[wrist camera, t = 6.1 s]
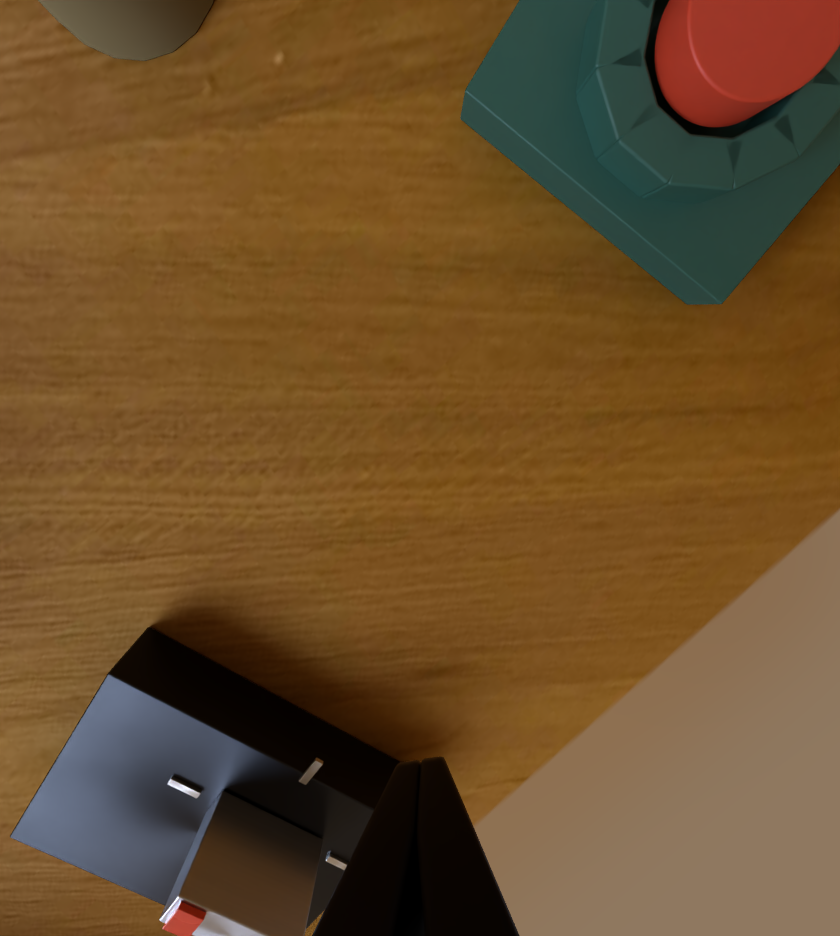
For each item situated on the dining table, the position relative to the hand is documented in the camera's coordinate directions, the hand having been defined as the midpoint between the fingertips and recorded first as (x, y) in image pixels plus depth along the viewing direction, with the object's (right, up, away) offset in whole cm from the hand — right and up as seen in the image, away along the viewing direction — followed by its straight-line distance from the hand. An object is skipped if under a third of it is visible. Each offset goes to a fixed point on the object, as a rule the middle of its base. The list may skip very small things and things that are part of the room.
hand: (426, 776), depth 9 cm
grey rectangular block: (-7, -10, +13) cm, 18 cm away
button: (+8, +16, +4) cm, 18 cm away
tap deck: (-10, -10, +16) cm, 21 cm away
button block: (+8, +17, +7) cm, 20 cm away
